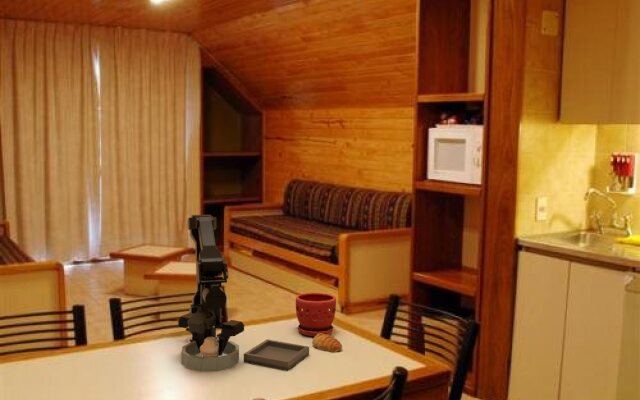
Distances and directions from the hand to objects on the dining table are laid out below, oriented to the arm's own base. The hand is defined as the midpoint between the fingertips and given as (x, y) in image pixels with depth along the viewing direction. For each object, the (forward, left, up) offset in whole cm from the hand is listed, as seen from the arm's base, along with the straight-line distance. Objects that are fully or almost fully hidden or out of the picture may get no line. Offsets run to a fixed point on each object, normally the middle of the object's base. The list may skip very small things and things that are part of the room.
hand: (210, 353), depth 187 cm
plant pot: (+16, +37, -2) cm, 40 cm away
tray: (+16, +10, -2) cm, 19 cm away
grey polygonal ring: (0, 0, -2) cm, 2 cm away
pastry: (+25, +26, -2) cm, 36 cm away
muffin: (0, 0, -2) cm, 2 cm away
